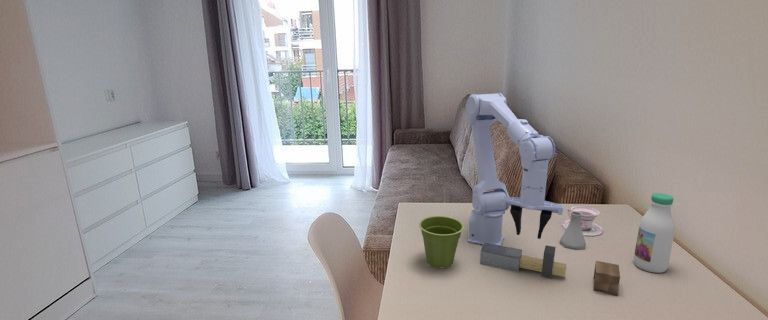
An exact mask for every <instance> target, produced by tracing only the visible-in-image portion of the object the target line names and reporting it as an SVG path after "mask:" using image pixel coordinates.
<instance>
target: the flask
mask: <svg viewBox="0 0 768 320" xmlns="http://www.w3.org/2000/svg"><path fill="white" fill-rule="evenodd" d="M569 214H570V216H571V219H569V220H570V223H569V225H568V227H567V229H565V231H564V232H563V235H562V236H561V238H560V240H559V244H560V245H562V246H563V247H564V248H569V249H574V250H580V249H581V250H583V249H585V250H586V240H585V236H583V232H582V231H583V230H582V228H581V217H582V213H581V212H578V211H571V212H569Z"/></svg>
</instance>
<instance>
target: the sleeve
mask: <svg viewBox="0 0 768 320" xmlns="http://www.w3.org/2000/svg"><path fill="white" fill-rule="evenodd" d="M522 254H523V249H519V248H515V247H509V246H506V245H505V246H504V245H495V244H490V243H484V245H483V244H482V247H481V248H480V260H479V264H480V265H482V266H487V267H491V268H497V269H499V270H500V269H501V270H505V271H511V272H513V273H519V272H520V269H521V268H520V267H519V263H520V256H521V255H522Z"/></svg>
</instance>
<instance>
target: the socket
mask: <svg viewBox="0 0 768 320" xmlns="http://www.w3.org/2000/svg"><path fill="white" fill-rule="evenodd" d="M594 264H595V265H594V271H593V277H592V279H593V280H592V281H593V282H592V283H593V284H592V285H593V286H592V287H593V289H592V290H593V291H594V292H599V293H602V294H606V295H612V296H616V297H617V296H618V293H619V287H620V280H621V273H620V272H621V271H620V266H619V264H617V263H611V262H605V261H600V260H595V263H594Z"/></svg>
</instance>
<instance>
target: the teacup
mask: <svg viewBox="0 0 768 320" xmlns="http://www.w3.org/2000/svg"><path fill="white" fill-rule="evenodd" d="M571 211H578V212H581V213H582V217H581V228H582V232H583V236H584V237H596V236H597V237H598V236H600V235H602V234H603V233H604V229H603V227H601V226H600V225H599V224H597V223H594V220H596V217H598V216H600V214H601V212H600V211H599V210H598V209H595V208H592V207H588V206H584V205H583V206H581V205H576V206H570V209H567V215H568V217H569V219H567V220H564V221H563V222H562V223H561V224H562V225H561V226H562V227H563V230H566V229H567V227H568V225H569V223H570V220H571V214H570V213H571ZM593 227H594V228H593ZM592 228H593V229H595V230H594V231H593V230H592ZM590 229H591V230H590Z"/></svg>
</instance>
